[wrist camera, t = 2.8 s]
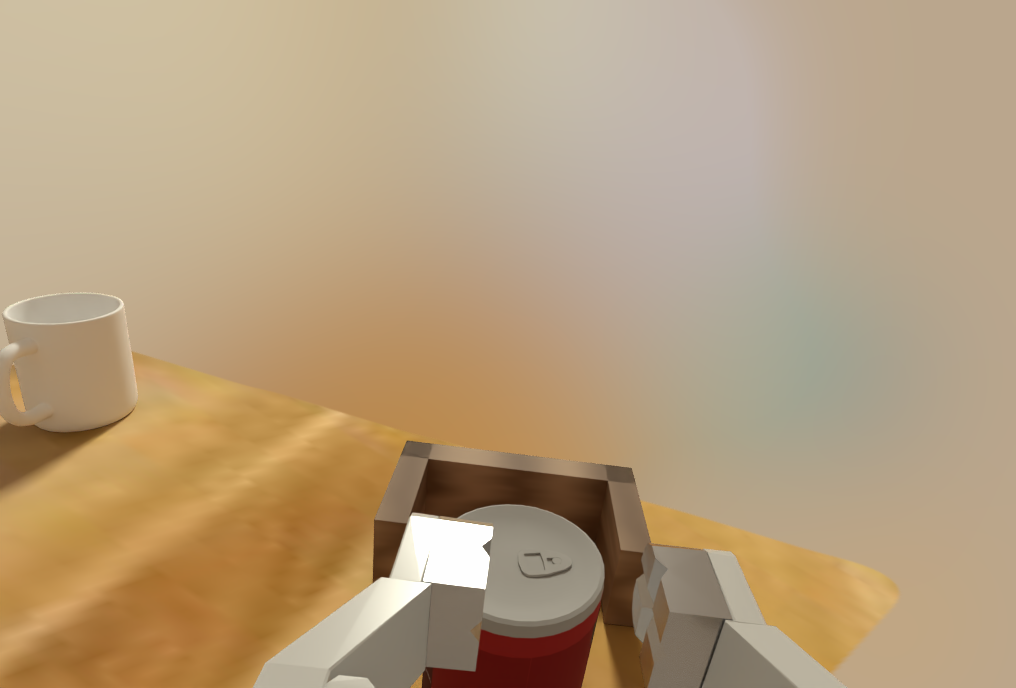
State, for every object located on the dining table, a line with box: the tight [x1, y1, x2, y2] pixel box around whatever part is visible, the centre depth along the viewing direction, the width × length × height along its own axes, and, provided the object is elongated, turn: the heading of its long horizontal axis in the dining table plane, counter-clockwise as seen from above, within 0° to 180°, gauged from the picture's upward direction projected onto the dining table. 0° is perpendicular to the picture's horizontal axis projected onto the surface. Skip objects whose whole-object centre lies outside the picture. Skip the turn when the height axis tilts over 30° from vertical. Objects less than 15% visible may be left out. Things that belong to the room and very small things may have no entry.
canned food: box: [422, 504, 605, 688], centre depth 28 cm, size 8×8×11 cm
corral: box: [373, 441, 651, 627], centre depth 39 cm, size 17×9×6 cm, turn 87°
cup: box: [0, 293, 138, 432], centre depth 49 cm, size 8×12×10 cm
